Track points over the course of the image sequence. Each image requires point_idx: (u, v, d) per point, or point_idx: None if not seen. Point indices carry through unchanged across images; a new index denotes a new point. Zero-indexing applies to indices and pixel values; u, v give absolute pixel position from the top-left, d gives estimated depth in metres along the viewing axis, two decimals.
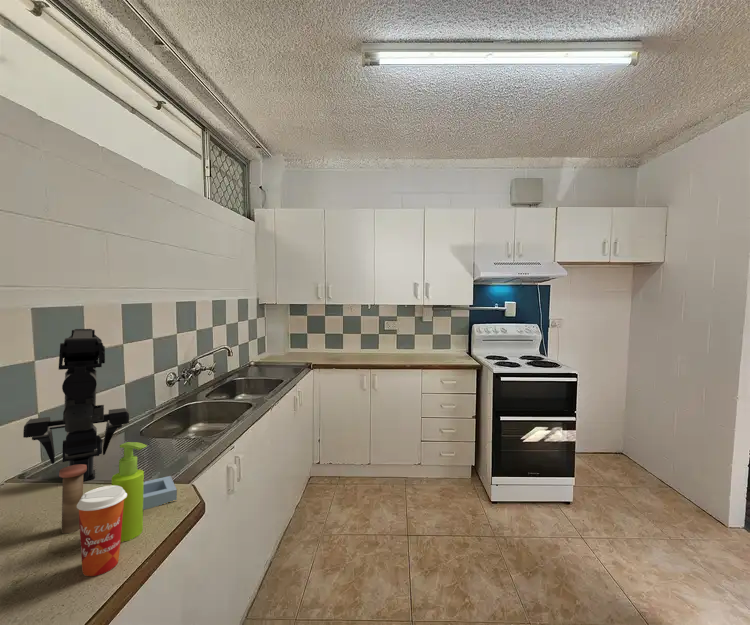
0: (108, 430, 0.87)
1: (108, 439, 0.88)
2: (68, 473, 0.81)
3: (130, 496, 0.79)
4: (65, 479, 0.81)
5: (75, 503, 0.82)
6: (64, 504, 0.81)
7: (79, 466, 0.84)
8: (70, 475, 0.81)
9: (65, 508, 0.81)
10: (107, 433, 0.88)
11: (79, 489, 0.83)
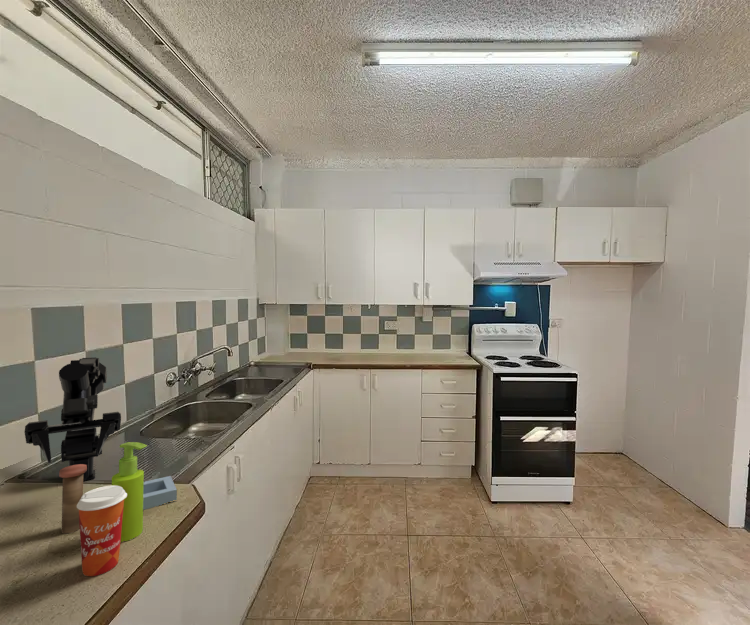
0: (102, 426, 0.95)
1: (102, 437, 0.94)
2: (68, 473, 0.81)
3: (130, 496, 0.79)
4: (65, 479, 0.81)
5: (75, 503, 0.82)
6: (64, 504, 0.81)
7: (79, 466, 0.84)
8: (70, 475, 0.81)
9: (65, 508, 0.81)
10: (101, 431, 0.94)
11: (79, 489, 0.83)
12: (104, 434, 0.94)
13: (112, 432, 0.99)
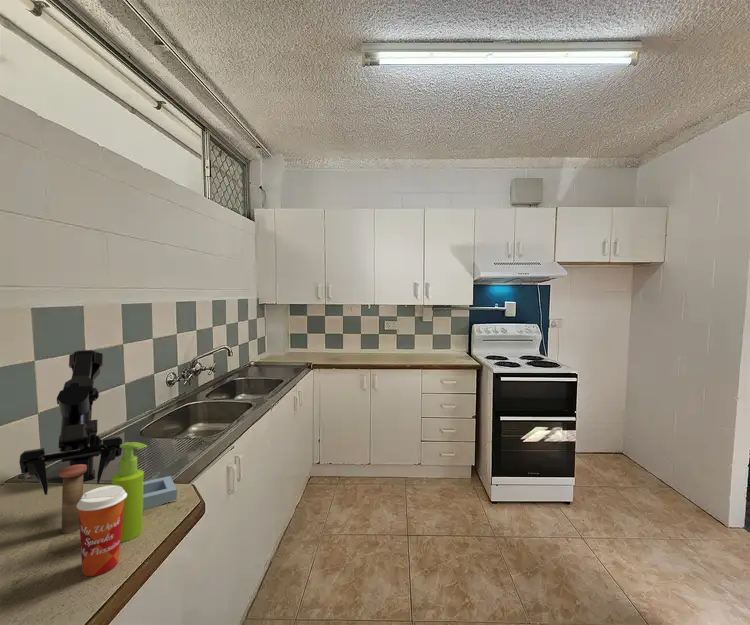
0: (102, 453, 0.89)
1: (102, 464, 0.88)
2: (68, 473, 0.81)
3: (130, 496, 0.79)
4: (65, 479, 0.81)
5: (75, 503, 0.82)
6: (64, 504, 0.81)
7: (79, 466, 0.84)
8: (70, 475, 0.81)
9: (65, 508, 0.81)
10: (101, 458, 0.89)
11: (79, 489, 0.83)
12: (104, 461, 0.89)
13: (113, 458, 0.93)
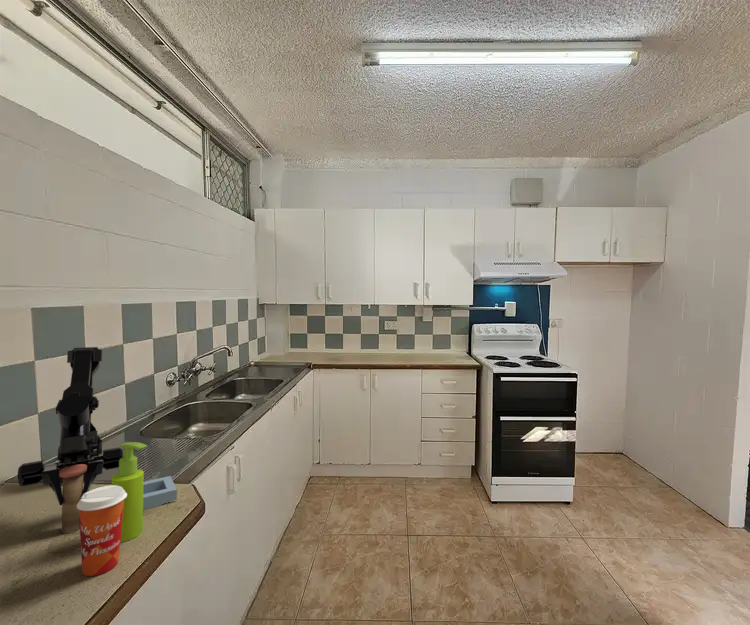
0: (88, 467, 0.86)
1: (88, 479, 0.85)
2: (68, 473, 0.81)
3: (130, 496, 0.79)
4: (65, 479, 0.81)
5: (75, 503, 0.82)
6: (64, 504, 0.81)
7: (79, 466, 0.84)
8: (70, 475, 0.81)
9: (65, 508, 0.81)
10: (87, 472, 0.85)
11: (79, 489, 0.83)
12: (90, 476, 0.85)
13: (100, 472, 0.90)
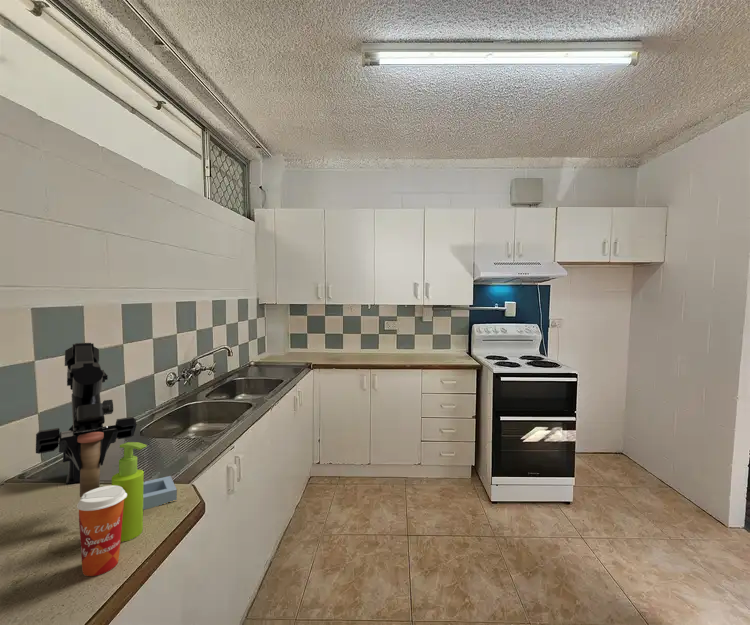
0: (104, 434, 0.88)
1: (105, 446, 0.87)
2: (87, 438, 0.83)
3: (130, 496, 0.79)
4: (84, 445, 0.83)
5: (94, 468, 0.84)
6: (82, 469, 0.83)
7: (96, 433, 0.86)
8: (89, 440, 0.83)
9: (83, 473, 0.83)
10: (103, 440, 0.88)
11: (97, 455, 0.85)
12: (107, 443, 0.88)
13: (113, 441, 0.92)
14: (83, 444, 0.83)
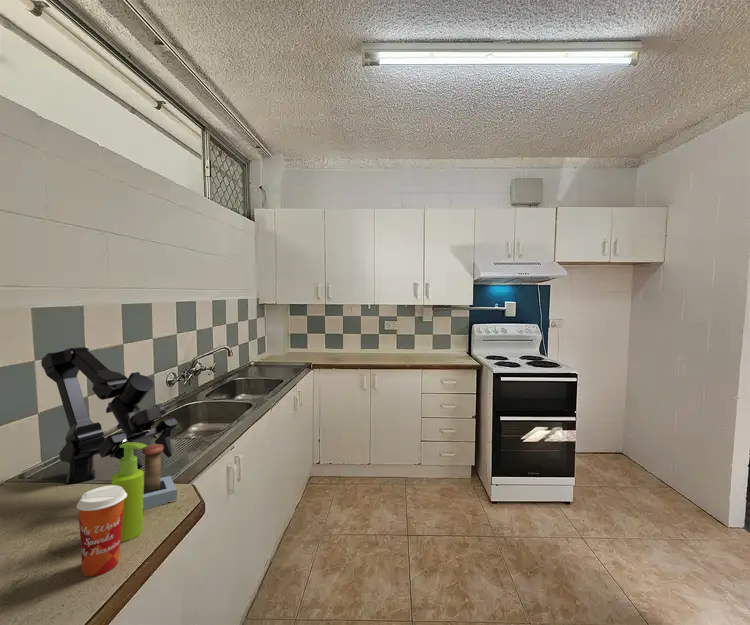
0: (166, 432, 1.02)
1: (168, 441, 1.01)
2: (156, 450, 0.95)
3: (130, 496, 0.79)
4: (151, 456, 0.95)
5: (158, 475, 0.96)
6: (150, 477, 0.95)
7: (155, 445, 0.98)
8: (158, 451, 0.95)
9: (151, 481, 0.95)
10: (165, 436, 1.01)
11: (160, 463, 0.97)
12: (169, 439, 1.02)
13: None
14: (150, 455, 0.95)
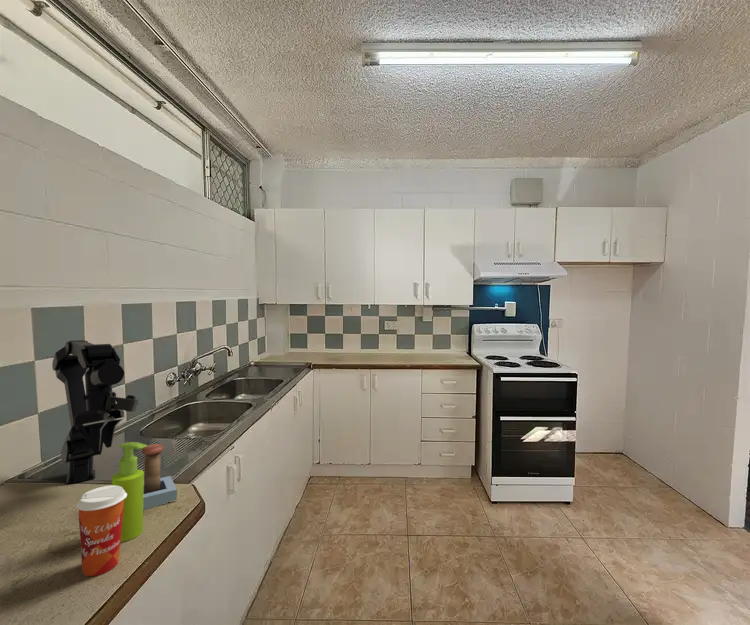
0: (118, 422, 1.04)
1: None
2: (156, 450, 0.95)
3: (130, 496, 0.79)
4: (151, 456, 0.95)
5: (158, 475, 0.96)
6: (150, 477, 0.95)
7: (154, 445, 0.98)
8: (157, 451, 0.95)
9: (151, 481, 0.95)
10: (114, 426, 1.03)
11: (159, 463, 0.97)
12: (114, 429, 1.03)
13: None
14: (150, 455, 0.95)
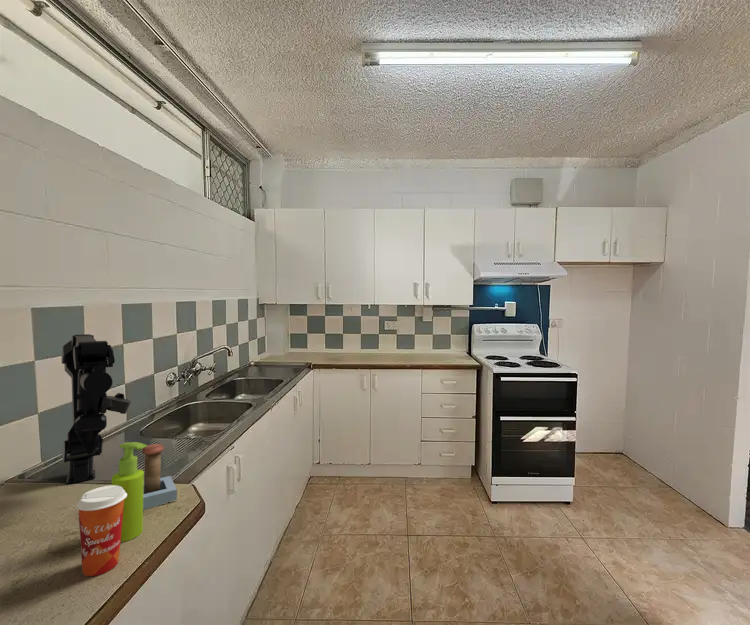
0: None
1: None
2: (156, 450, 0.95)
3: (130, 496, 0.79)
4: (151, 456, 0.95)
5: (159, 475, 0.96)
6: (150, 477, 0.95)
7: (155, 445, 0.98)
8: (158, 451, 0.95)
9: (151, 481, 0.95)
10: None
11: (160, 463, 0.97)
12: None
13: None
14: (150, 455, 0.95)
